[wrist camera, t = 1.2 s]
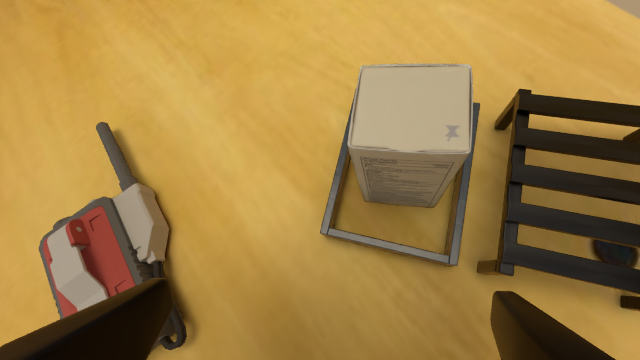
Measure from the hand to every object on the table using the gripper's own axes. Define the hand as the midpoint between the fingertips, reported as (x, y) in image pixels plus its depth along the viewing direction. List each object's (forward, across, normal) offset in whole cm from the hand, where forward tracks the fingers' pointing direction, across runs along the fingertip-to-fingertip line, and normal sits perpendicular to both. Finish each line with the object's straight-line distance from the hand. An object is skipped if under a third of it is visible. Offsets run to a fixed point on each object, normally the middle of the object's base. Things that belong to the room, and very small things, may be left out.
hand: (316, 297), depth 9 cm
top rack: (+14, -13, +3) cm, 20 cm away
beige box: (+16, -3, +2) cm, 16 cm away
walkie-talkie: (+13, +19, +6) cm, 23 cm away
